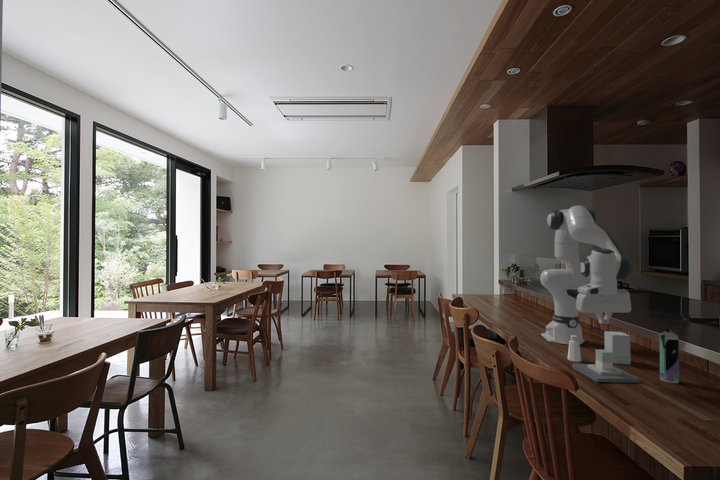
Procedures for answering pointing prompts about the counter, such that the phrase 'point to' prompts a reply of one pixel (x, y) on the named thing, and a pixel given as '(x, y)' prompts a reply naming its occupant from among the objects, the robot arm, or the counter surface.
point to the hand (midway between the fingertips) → (603, 323)
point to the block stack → (604, 360)
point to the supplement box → (618, 347)
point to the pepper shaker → (574, 349)
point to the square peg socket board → (605, 374)
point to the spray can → (669, 356)
